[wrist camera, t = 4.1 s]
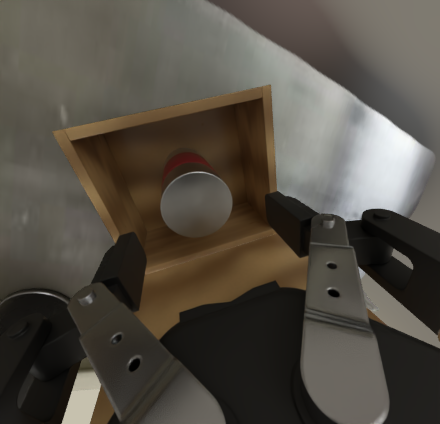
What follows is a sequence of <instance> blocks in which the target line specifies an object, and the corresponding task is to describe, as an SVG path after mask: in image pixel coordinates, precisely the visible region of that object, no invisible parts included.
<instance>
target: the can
mask: <svg viewBox="0 0 440 424" xmlns="http://www.w3.org/2000/svg"><path fill="white" fill-rule="evenodd" d="M160 210H161V214H162V217H163V220H164V221H165V223H166V224H167V226H168V227H169V228H170V229H172V230H173V231H174V232H176V233H177V234H180V235H182V236H185V237H191V238H198V237H204V236H207V235H210V234H212V233H214V232H216V231H217V230H219V229H220V228H221V227H222V226H223V225H224V224H225V223H226V221H227V220H228V218H229V216H230V213H231V210H232V196H231V192H230V190H229V188H228V186H227V185H226V184H225V182H224V181H223V180H222V179H221V178H220V177H219V175H218V174H217V173H216V171H215V170H214V169H213V168H212V167H211V166H210V165H209V163H208V162H207V161H206V160H205V159H204V158H203V157H202V156H201V155H200V154H199V153H198V152H197V151H195V150H193V149H190V148H179V149H176V150H174V151H173V152H171V153H170V154H169V155H168V157H167V158H166V161H165V164H164V171H163V179H162V188H161V202H160Z"/></svg>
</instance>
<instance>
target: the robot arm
mask: <svg viewBox="0 0 440 424" xmlns="http://www.w3.org/2000/svg"><path fill="white" fill-rule="evenodd" d="M265 207H266V217H267V221H268V223H269V225H270V226H271V227H272V228H273V230H274V231H275V232H276V233H277V234H278V235H279V236H280V237H281V238H282V239H283V240H284V242H285V243H286V244H287V245H288V246H289V247H290V248H291V249H292V250H293V251H294V253H295V254H296V255H297V256H298V257H299V258H303V257H306V256H308V270H307V284H306V290H303V289H298V288H292V287H280V286H279V285H278V283H277V282H276V280H274V281H271V282H269V283H266V284H263V285H260V286H257V287H254V288H252V289H250V290H249V291H247V292H245V293H244V294H242V295H241V296H239V297H237V298H236V299H234V300H232V301H230V302H223V303H212V304H203V305H200V306H197V307H194V308H192V309H189V310H186V311H183V312H180V313H179V320H180V322H178V323H177V324H175V325H174V326H173V327H171V328H170V329H169V330H168V331H167V332H166V333H165V334H164V335H163V336H162V337H161V338H160V340H158V339H157V338H156V337H155V336H154V335H153V334H152V333H151V332H150V331H149V329H148V328H147V327H146V326H145V325H144V324H143V323H142V322H141V321H140V320H139V319H138V318H137V317H136V316H135V315H134V312H137V311H139V308H140V302H141V295H142V289H143V283H144V277H145V271H146V264H147V258H146V254H145V251H144V249H143V247H142V245H141V243H140V241H139V239H138V237H137V235H136V233H135V232H129V233H126V234H122V235H119V237H118V239H117V242H116V244H115V246H112V247H111V248H110V249H109V250H108V251H107V252H106V253H105V255H104V257H103V259H102V261H101V264H100V267H99V268H98V270H97V272H96V274H95V276H94V278H93V280H92V282H91V284H90V285H88V286H86V287H84V288H82V289H81V290H80V291H78V292H77V293H76V294H75V295H74V296H73V297H72V298H71V300H70V299H69V298H67V297H66V296H64V295H62V294H60V293H58V292H55V291H51V290H46V289H27V290H21V291H18V292H15V293H13V294H11V295H9V296H7V297H6V298H5V299H4V300H3V301H2V302H1V303H0V424H61V423H62V420H63V417H64V414H65V411H66V408H67V405H68V401H69V398H70V395H71V392H72V389H73V385H74V382H75V379H76V376H77V373H78V370H79V366H80V363H81V360H82V359H84V358H85V357H88V359H89V361H90V363H91V365H92V367H93V369H94V371H95V373H96V375H97V377H98V379H99V381H100V383H101V385H102V387H103V389H104V391H105V393H106V395H107V397H108V399H109V401H110V403H111V405H112V407H113V409H114V413H113V415H112V416H111V418H110V420H109V421H108V423H107V424H440V349H439V348H437V347H435V346H433V345H430V344H428V343H426V342H423V341H421V340H419V339H417V338H414V337H412V336H410V335H407V334H405V333H403V332H401V331H398V330H396V329H394V328H391V327H389V326H387V325H384V324H382V323H380V322H378V321H375V320H373V319H371V318H368V314H367V309H366V304H365V299H364V294H363V289H362V284H361V279H360V274H359V269H358V266H359V267H360V268H361V269H362V270H363V271H364V272H365V273H367V274H368V275H369V276H370V277H371V278H372V279H373V280H375V281H376V282H377V283H378V284H379V285H380V286H381V287H383V288H384V289H385V290H386V291H387V292H388V293H389V294H391V295H392V296H393V297H394V298H395V299H396V300H398V301H399V302H400V303H401V304H402V305H403V306H404V307H406V308H407V309H408V310H409V311H410V312H411V313H413V314H414V315H415V316H416V317H417V318H418V319H419V320H420V321H422V322H423V323H424V324H425V325H426V326H427V327H429V328H430V329H431V330H432V331H433V332H434V333H435V334H436V335H438V338H439V341H440V233H438V232H436V231H434V230H432V229H429V228H427V227H425V226H423V225H421V224H419V223H417V222H415V221H412V220H410V219H408V218H406V217H404V216H402V215H400V214H397V213H395V212H393V211H390V210H385V209H369V210H366V211H364V212H363V213H362V218H361V220H355V221H345V220H344V219H343V218H341V217H339V216H337V215H333V214H319V213H317V212H315V211H314V210H312V209H311V208H309V207H308V206H306V205H305V204H303V203H301V202H300V201H299V200H297V199H296V198H292V197H289V196H284V195H283V194H281V193H280V192H278V191H276V192H272V193H269V194H266V195H265ZM393 249H396V250H397V251H399V252H401V253H402V254H404V255H405V256H407V257H408V258H409V259H410V260H411V262H412V264H413V270H412V269H410V268H409V267H407V266H406V265H404V264H403V263H402V262H400V261H399V260H397V259H396V258H394V257H393V256H391V255H392V252H393Z"/></svg>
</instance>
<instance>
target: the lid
mask: <svg viewBox="0 0 440 424" xmlns="http://www.w3.org/2000/svg"><path fill="white" fill-rule="evenodd" d="M307 270H308V256H306V257H303V258H299V257H298V256H297V255H296V254H295V253H294V251H293V250H292V249H291V248H290V247H289V246H288V245H287V244H286V243H285V242H284V240H283V239H282V238H281V237H280V236H279V235H278V234H274V235H271V236H267V237H264V238H261V239H258V240H255V241H251V242H248V243H245V244H242V245H239V246H236V247H232V248H229V249H226V250H223V251H220V252H217V253H213V254H210V255H207V256H204V257H201V258H197V259H194V260H191V261H188V262H185V263H182V264H178V265H175V266H172V267H169V268H166V269H163V270H159V271H156V272H153V273H150V274H147V275H145V277H144V283H143V289H142V295H141V302H140V308H139V311H137V312H134V315H135V316H136V317H137V318H138V319H139V320H140V321H141V322H142V323H143V324H144V325H145V326H146V327H147V328H148V329H149V331H150V332H151V333H152V334H153V335H154V336H155V337H156V338H157V339H158V340H160V338H161V337H162V336H163V335H164V334H165V333H166V332H167V331H168V330H169V329H170V328H171V327H173V326H174V325H175V324H177V323H178V322H180V320H179V313H180V312H183V311H186V310H189V309H192V308H194V307H197V306H200V305H203V304H212V303H223V302H230V301H232V300H234V299H236V298H237V297H239V296H241V295H242V294H244V293H245V292H247V291H249V290H250V289H252V288H254V287H257V286H260V285H263V284H266V283H269V282H271V281H274V280H276V282H277V283H278V285H279V286H280V287H292V288H298V289H303V290H306V284H307ZM366 309H367V314H368V318H371V319H373V320H375V321H378V322H380V323H382V324H384V325H386V324H385V323H384V322H383V321H381V320H380V319H379V318H378V317H377V316H376V315H375V314H373V313H372V312H371V311H370V310H369V309H368V308H367V307H366ZM113 413H114V409H113V407H112V405H111V403H110V401H109V399H108V397H107V395H106V393H105V391H104V389H103V387H102V385H101V388H100V392H99V395H98V398H97V402H96V405H95V409H94V412H93V415H92V418H91V422H90V424H107V423H108V421H109V420H110V418H111V416H112V415H113Z"/></svg>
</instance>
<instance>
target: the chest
mask: <svg viewBox="0 0 440 424" xmlns="http://www.w3.org/2000/svg"><path fill="white" fill-rule="evenodd" d="M52 133H53V134H54V136H55V138H56V140H57V141H58V143H59V145H60V147H61V149H62V150H63V152H64V154H65V156H66V157H67V159H68V161H69V163H70V164H71V166H72V168H73V170H74V171H75V173H76V175H77V177H78V178H79V180H80V182H81V184H82V185H83V187H84V189H85V191H86V193H87V194H88V196H89V198H90V200H91V201H92V203H93V205H94V207H95V208H96V210H97V212H98V214H99V215H100V217H101V219H102V221H103V222H104V224H105V226H106V228H107V229H108V231H109V233H110V235H111V237H112V238H113V240H114V242H115V244H116V242H117V239H118V237H119V235H122V234H126V233H129V232H135V233H136V235H137V237H138V239H139V241H140V243H141V245H142V247H143V249H144V251H145V254H146V258H147V264H146V271H145V275H146V274H149V273H153V272H156V271H159V270H162V269H165V268H169V267H172V266H175V265H178V264H181V263H184V262H188V261H191V260H194V259H197V258H200V257H203V256H207V255H210V254H213V253H216V252H219V251H223V250H226V249H229V248H232V247H235V246H238V245H242V244H245V243H248V242H251V241H254V240H258V239H261V238H264V237H267V236H270V235H273V234H277V233H276V232H275V231H274V230H273V228H272V227H271V226H270V225H269V223H268V221H267V217H266V207H265V195H266V194H269V193H272V192H276V191H277V182H276V165H275V148H274V131H273V113H272V96H271V85H266V86H262V87H257V88H252V89H248V90H243V91H238V92H234V93H229V94H224V95H220V96H215V97H211V98H206V99H201V100H197V101H192V102H187V103H183V104H178V105H173V106H169V107H164V108H159V109H155V110H150V111H145V112H141V113H136V114H132V115H127V116H122V117H118V118H113V119H108V120H104V121H99V122H94V123H90V124H85V125H80V126H76V127H71V128H67V129H62V130H57V131H53V132H52ZM179 148H190V149H193V150H195V151H197V152H198V153H199V154H200V155H201V156H202V157H203V158H204V159H205V160H206V161H207V162H208V163H209V165H210V166H211V167H212V168H213V169H214V170H215V171H216V173H217V174H218V175H219V177H220V178H221V179H222V180H223V181H224V182H225V184H226V185H227V186H228V188H229V190H230V192H231V196H232V210H231V213H230V216H229V218H228V220H227V221H226V223H225V224H224V225H223V226H222V227H221V228H220V229H219V230H217V231H216V232H214V233H212V234H210V235H207V236H204V237H198V238H191V237H185V236H182V235H180V234H177V233H176V232H174V231H173V230H172V229H170V228H169V227H168V226H167V224H166V223H165V221H164V220H163V217H162V214H161V210H160V202H161V188H162V179H163V171H164V164H165V161H166V158H167V157H168V155H169V154H170V153H171V152H173V151H174V150H176V149H179Z"/></svg>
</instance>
